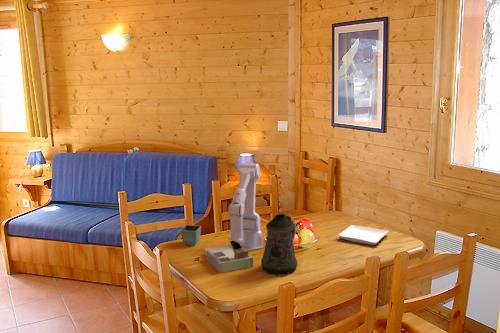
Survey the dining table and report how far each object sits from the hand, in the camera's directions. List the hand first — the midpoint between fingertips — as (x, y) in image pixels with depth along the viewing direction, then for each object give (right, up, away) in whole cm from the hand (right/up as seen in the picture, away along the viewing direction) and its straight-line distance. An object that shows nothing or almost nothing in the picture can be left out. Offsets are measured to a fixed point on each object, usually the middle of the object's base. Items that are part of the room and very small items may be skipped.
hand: (237, 255), depth 230 cm
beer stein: (+20, -5, -5) cm, 21 cm away
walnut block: (+2, -2, -3) cm, 4 cm away
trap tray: (-5, -3, +4) cm, 7 cm away
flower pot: (-25, +1, +26) cm, 36 cm away
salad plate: (+67, +3, +31) cm, 74 cm away
